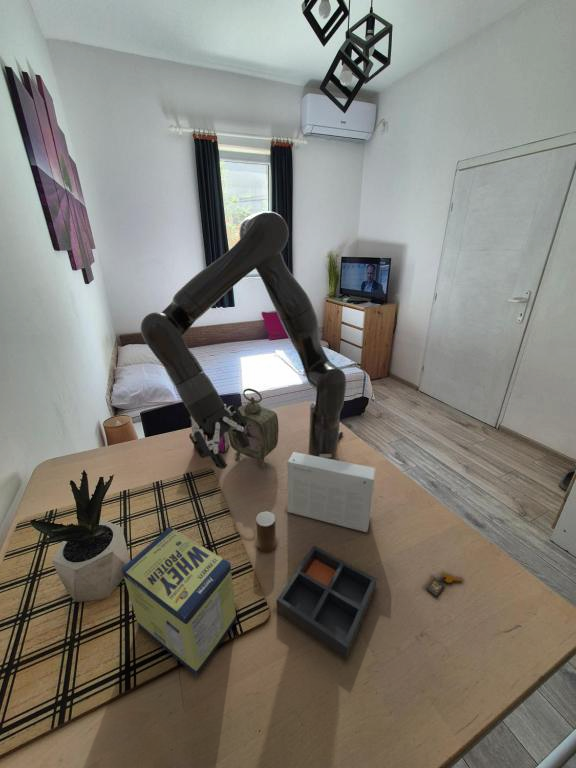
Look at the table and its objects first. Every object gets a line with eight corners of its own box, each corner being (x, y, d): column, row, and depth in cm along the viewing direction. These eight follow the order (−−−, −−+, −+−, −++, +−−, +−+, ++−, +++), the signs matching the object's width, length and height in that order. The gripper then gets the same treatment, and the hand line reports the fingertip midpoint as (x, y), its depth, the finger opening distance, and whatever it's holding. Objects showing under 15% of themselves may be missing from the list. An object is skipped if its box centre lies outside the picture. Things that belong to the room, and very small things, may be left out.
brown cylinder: (264, 533, 79) (263, 508, 76) (279, 541, 77) (279, 516, 74) (253, 546, 76) (251, 520, 73) (268, 555, 74) (267, 529, 70)
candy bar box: (193, 451, 110) (188, 408, 104) (199, 442, 115) (193, 401, 108) (226, 453, 109) (222, 410, 103) (229, 444, 114) (226, 403, 107)
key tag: (434, 597, 65) (434, 595, 65) (422, 584, 67) (423, 583, 67) (462, 580, 68) (462, 578, 68) (450, 568, 71) (450, 566, 70)
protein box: (179, 579, 68) (169, 525, 62) (238, 619, 61) (232, 562, 55) (136, 626, 60) (118, 568, 54) (197, 678, 53) (186, 618, 47)
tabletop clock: (230, 457, 107) (224, 388, 97) (247, 444, 114) (243, 378, 104) (265, 472, 100) (263, 400, 90) (281, 457, 107) (281, 388, 97)
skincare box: (369, 517, 84) (376, 467, 78) (367, 533, 79) (374, 481, 73) (292, 497, 90) (293, 450, 84) (286, 512, 86) (286, 462, 79)
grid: (313, 556, 74) (313, 545, 72) (374, 590, 66) (376, 578, 65) (276, 611, 62) (276, 599, 61) (346, 660, 55) (347, 647, 54)
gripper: (185, 406, 65) (226, 473, 67) (230, 378, 76) (263, 437, 78) (166, 415, 69) (205, 477, 72) (211, 388, 80) (243, 442, 83)
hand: (235, 456), depth 75 cm, fingers open, 8 cm apart
